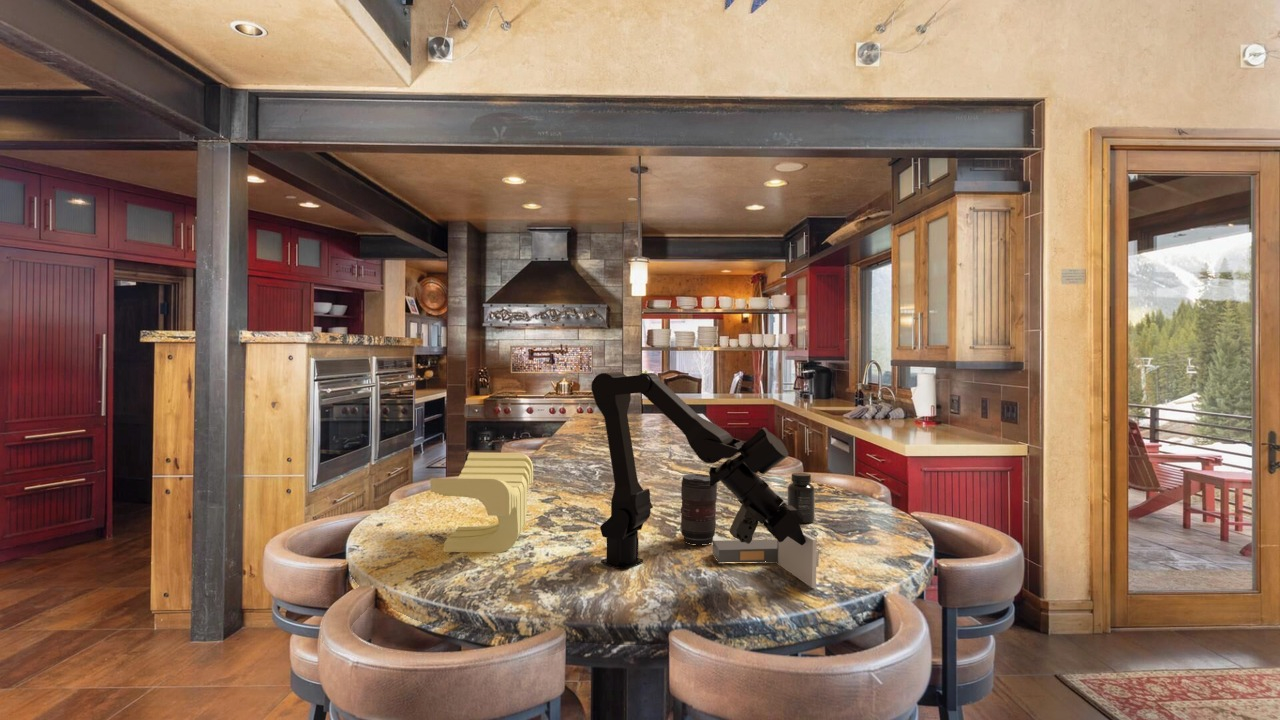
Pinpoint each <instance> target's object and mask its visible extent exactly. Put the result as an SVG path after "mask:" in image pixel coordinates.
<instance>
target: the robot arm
mask: <svg viewBox="0 0 1280 720" xmlns="http://www.w3.org/2000/svg"><path fill="white" fill-rule="evenodd" d="M590 389H591V393H592V396H593V399H594V403H595V405H596V407H597V408H598V410H599V411H600V413H601V415H602V416H603V419H604V424H605V430H606V431H605V432H606V436H607V438H606V439H607V445H608V450H609V456H610V464H611V469H612V475H613V476H612V477H613V482H614V489H613V492H612V495H611V496H612V497H611V500H610V501H611V502H610V517H609V518H607V519H606V521H605V522H603V524H601V525H600V527H599V529H600V532H601V537H603V538H606V558H603V559H601V560H600V563H601V564H603V565H606V566H609V567H613V568H616V569H618V570H623V571H624V570H627V569H630V568H632V567H635V566H637V565H640V564H642V563H644V559H643V558H641V557H639V531H641V530H642V529H643V526H644V523H646V522H647V521H648V520H649V518H650V516H651V512H652V511H651V510H652V509H653V508H654V506H653V504H652V502H651V491H650V489H649V488H645V489H643V487H642V486H641V485H640V482H639V480H638V474H637V468H636V462H635V456H634V450H633V449H634V448H633V443H632V437H631V429H630V423H629V417H628V413H629V411H628V410H629V407H630V403H631V401H632V399H631V398H632V395H631V394H642V395H643V396H644V397H645V398H646V399H648V401H650V402H651V404H653V405H654V406H655V408H657V409H658V410H659V411H660V412H661V414H663V415H664V416H665V417H666V418H667V419H668V420H669V421H671V422H672V423H673V425H675V426H676V427H677V428H678V429H679V430H680V431H681V433H682V434H683V435H684V436H685V438H686V441H687V443H688V445H689V447H690V449H692V450H693V452H694V453H695V455H696V456H697V458H698V459H700V461H702V462H703V463H706V464H715V463H718V462H720V461H722V460H724V462H722V464H720V465H719V466H716V467H712V466H711V467H710V468H709V471H708V475H709V476H710V484H709V485H710V486H714V485H715V484H716V483H717V484H718V483H719V482H721V483H722V484H723V485H724V486H725V487H726V488H727V489H728V490H729V491H730V492H731V493H732V494H733V495H734V496H735V497H736V498H737V502H739V503H740V504H741V506H740V508H739V510H738V511H737V513H736V514H735V517H734V519H733V521H732V523H731V525H730V528H729V534H730V535H731V537H733V538H734V539H735V540H740V541H741V542H745V543H747V544H749V543H750V542H751V541H752V540H753V536H754V534H755V531H756V529H757V527H758V524H759V523H760V525H763V526H764V528H766V529H767V531H768V532H769V533H770V534H771V535H772V536H773V537H774V539H776V540H778V541H779V542H782V541H784V540H785V539H786V538H787V537H790V538H791V539H793V540H794V541H796V542H797V543H799V544H800V545H803V544H804V543H805V542H806V540H805V538H804V535H803V532H804V531H803V530H802V528H801V525H800V524H802V523H801V522H802V521H803V520H804V516H803V515H802V514H801V513H800V512H799V511H798V510H796V509H795V508H794V507H793V506H791V505H788V503H786V502H784V499H783V498H782V497H781V496H780V495H778V494H777V493H776V492H775V491H774V490H773V489H772V488H771V487H770V486H769V484H768V483H767V482H766V481H765V480H764V479H762V478H761V477H760V476H759V475H758V474H757V473H759V474H761V475H765V474H767V473H768V472H769V471H771V470H772V469H774V467H776V466H777V465H778V464H780V463H781V462H782V461H784V460H785V459H787V458H788V457H789V452H788V449H787V447H786V446H785V444H784V442H783V441H782V440H781V439H780V438H778V437H777V436H776V435H774V434H773V433H772V432H770V431H769V430H768V429H767V428H766V427H762V428H760V429H759V430H757V431H756V432H755V434H754V435H753V436H752V437H750V438H749V439H748V440H747V441H744V440H741V439H738V438H736V437H735V438H734V437H733V436H732V435H731V434H730V433H729V432H728V431H727V430H725V429H724V428H722V427H720V426H719V425H717V424H715V423H714V422H712V421H709V420H707V419H705V418H704V417H702V416H700V415H699V414H698V413H697V412H696V411H695V410H694V409H693V408H691V406H689V405H688V404H687V403H686V401H684V400H683V399H681V397H680V396H678V394H676V392H674V391H673V390H672V389H671V388H670V387H669V386H668V385H667V384H666V383H664V382H663V381H662V380H661V379H660V377H659V375H657V374H656V373H654V372H646V373H640V374H638V375H637V374H636V375H628V376H627V375H626V374H625V373H624V372H622V371H621V372H620V371H613V372H601V373H598V374H597V375H595V377H594V378H593V380H592V381H591V386H590ZM739 454H740V455H739ZM737 455H738V456H737ZM735 456H737V457H735ZM733 457H735V458H733ZM731 458H732V459H731ZM725 459H727V460H725ZM641 562H642V563H641ZM639 563H640V564H639ZM636 564H637V565H636Z"/></svg>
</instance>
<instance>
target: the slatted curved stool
mask: <svg viewBox="0 0 1280 720" xmlns="http://www.w3.org/2000/svg"><path fill="white" fill-rule="evenodd" d="M466 459H467V460H465V463H464V465H463V467H462V469H461V472H460V474H459V475H458V477H457V478H454V477H453V478H450V477H448V478H444V477H443V478H439V477H437V478H433V477H431V478H430V480H429V481H430V482H429V483H430V485H429V486H430V493H434V494H438V495H441V496H443V497H458V498H459V497H462V498H469V499H475V500H478V501H479V502H481V503H482V505H483V506H484V507H485V510H486V512H487V513H486V514H487V516H489V517H490V516H492V517H493V516H494V517H496V518H497V521H498V522H497V523H494V524H488V525H479V526H478V525H477V526H476V525H475V526H458V527H457V528H456V529H455V531H453V532H452V533H451V534H450V535H449V536H448V537H447V538H446V540H445V541H444V543H443V551H442V552H444V553H447V552H448V553H457V552H458V553H462V552H463V553H503V552H506V551H508V550H510V549H511V548H512V547H513V546H514V545H515V543H516V542H517V540H518V538H519V537H520V535H521V534H522V531H523V530H524V528H525V526H526V524H527V508H528V493H529V489H530V485H531V484H534V465H533V461H532V460H531V458H530V457H529V456H528V455H527V454H525V453H523V452H480V451H479V452H475V451H474V452H473V451H472V452H468V455H467V458H466Z"/></svg>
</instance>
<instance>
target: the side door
mask: <svg viewBox="0 0 1280 720" xmlns="http://www.w3.org/2000/svg"><path fill="white" fill-rule="evenodd" d="M802 532H803V535H804V538H805V540H806V542H805V543H804V544H803V545H800V544H799V543H797V542H796V541H794V540H793V539H791V538H790V537H787V538H786V539H785V540H784V541H782V542H779V541H778V540H777V539H776V540H777V563H778V564H779V565H778V566H780V567H782V568H783V569H784V570H786V571H788V572H789V573H790V574H791V573H792V574H791V575H793V576H794V577H795V578H798V579H799V580H800V581H801V582H803V583H804V584H805V585H807V586H808V587H810V588H811V589H816V587H817V568H818V567H819V565H820V564H819V563H820V561H819V560H820V559H819V553H820V552H819V550H818V549H817V545H818V544H817V542H818V540H817V538H814V537H813V536H811V535H809V534H808V533H805V532H804V531H802ZM777 563H776V564H777Z"/></svg>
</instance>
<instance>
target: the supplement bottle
mask: <svg viewBox="0 0 1280 720" xmlns="http://www.w3.org/2000/svg"><path fill="white" fill-rule="evenodd" d="M811 475H812V474H810V473H808V472H807V473H806V472H793V473H791V479H790V480H791V483H790V484H789V485H788V486H787V505H791V506H793V507H794V508H795V509H796V510H798V511H799V512H800V513H801V514H802V515H803V516H804V520H803V521H802V522H801V523H800V524H811V523H814V521H815V516H816V515H815V514H816V513H815V510H816V509H815V506H816V505H815V503H816V502H815V500H816V498H815V494H816V493H815V492H816V491H815V487H814V485H812V484H811V483H812V480H811Z"/></svg>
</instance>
